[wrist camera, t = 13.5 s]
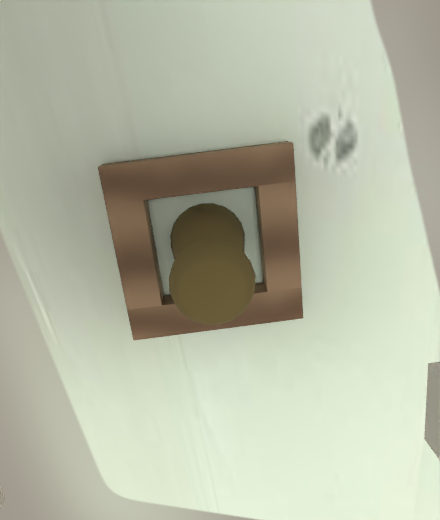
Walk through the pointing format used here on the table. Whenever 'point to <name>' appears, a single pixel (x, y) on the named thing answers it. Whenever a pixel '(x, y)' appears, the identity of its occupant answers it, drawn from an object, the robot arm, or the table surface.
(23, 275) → the table surface
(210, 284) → the cork
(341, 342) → the table surface
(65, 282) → the table surface
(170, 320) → the socket plate
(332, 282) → the table surface
